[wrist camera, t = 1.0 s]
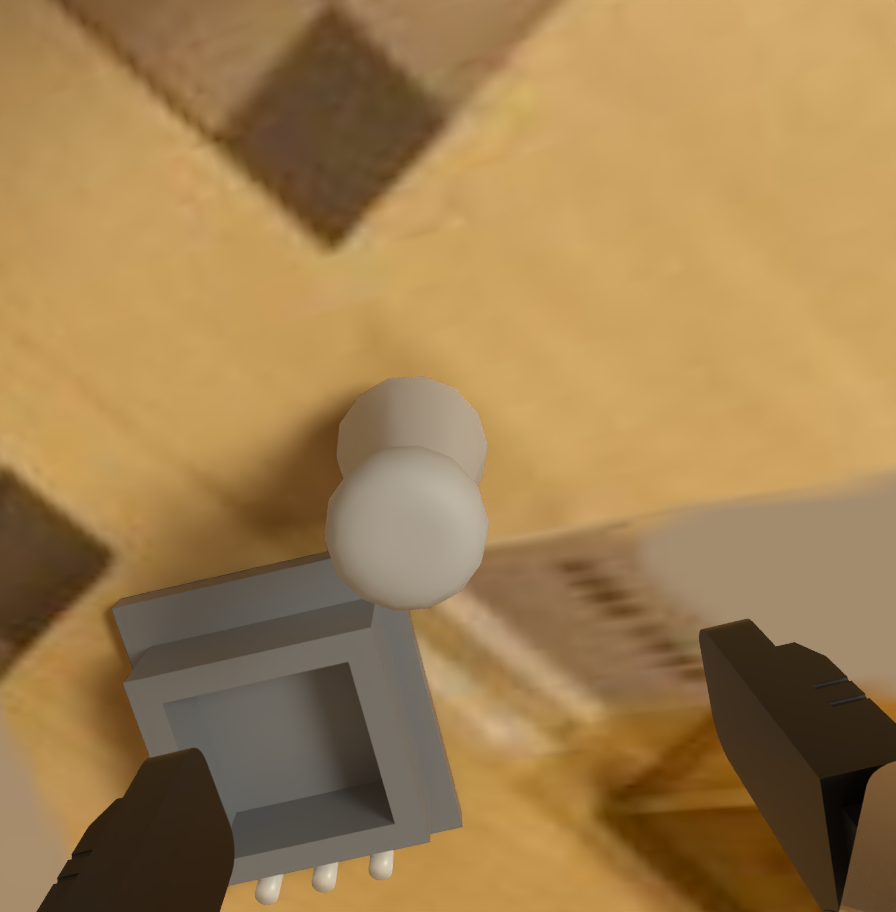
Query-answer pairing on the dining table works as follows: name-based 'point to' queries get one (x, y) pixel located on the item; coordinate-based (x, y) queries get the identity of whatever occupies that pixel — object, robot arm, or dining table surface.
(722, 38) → the dining table surface
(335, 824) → the socket
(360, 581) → the salt shaker
